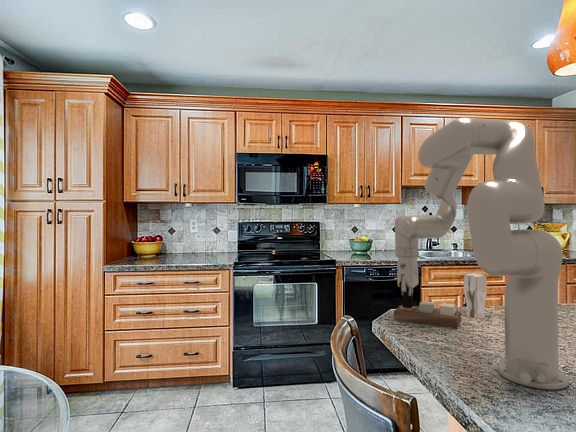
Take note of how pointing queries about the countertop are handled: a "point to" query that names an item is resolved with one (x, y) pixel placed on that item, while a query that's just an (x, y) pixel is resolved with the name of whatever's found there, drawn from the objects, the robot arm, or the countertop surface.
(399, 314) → the console
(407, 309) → the key terracotta
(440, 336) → the countertop surface
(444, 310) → the key cream
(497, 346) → the countertop surface
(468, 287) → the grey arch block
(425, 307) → the key sage
